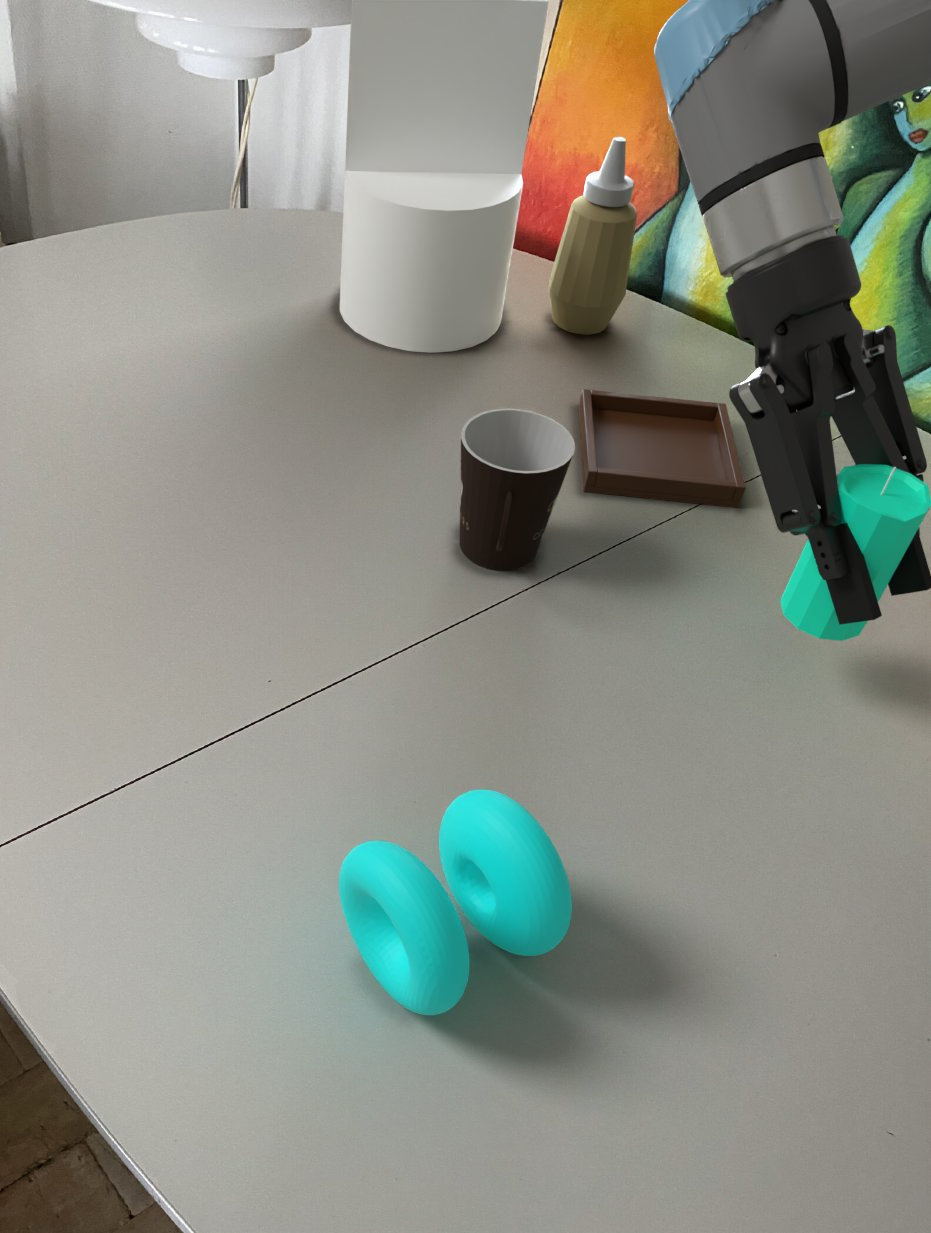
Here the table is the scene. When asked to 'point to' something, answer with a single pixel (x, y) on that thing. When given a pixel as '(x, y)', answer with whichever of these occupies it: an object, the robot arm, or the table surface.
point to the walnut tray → (658, 448)
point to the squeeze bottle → (595, 249)
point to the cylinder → (435, 166)
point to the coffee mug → (509, 484)
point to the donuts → (482, 886)
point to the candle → (859, 543)
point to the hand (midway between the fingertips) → (886, 604)
